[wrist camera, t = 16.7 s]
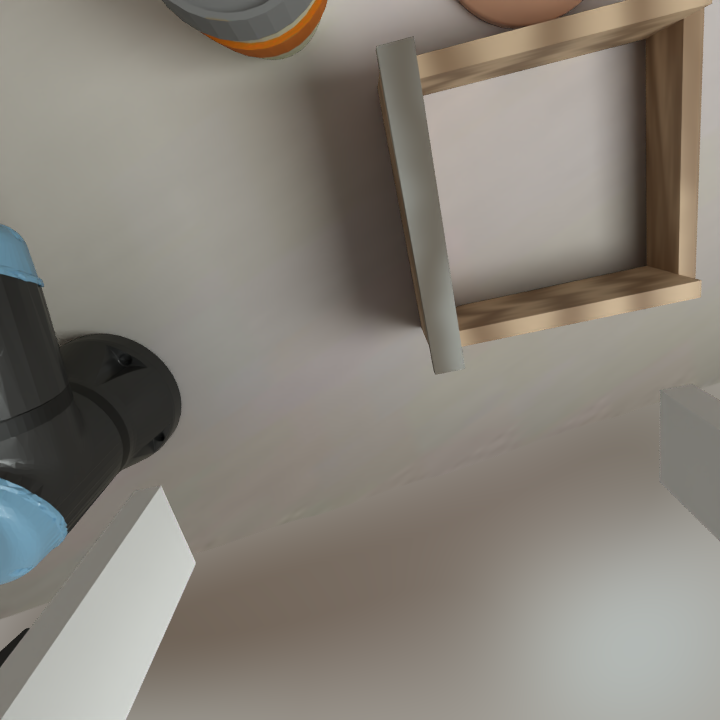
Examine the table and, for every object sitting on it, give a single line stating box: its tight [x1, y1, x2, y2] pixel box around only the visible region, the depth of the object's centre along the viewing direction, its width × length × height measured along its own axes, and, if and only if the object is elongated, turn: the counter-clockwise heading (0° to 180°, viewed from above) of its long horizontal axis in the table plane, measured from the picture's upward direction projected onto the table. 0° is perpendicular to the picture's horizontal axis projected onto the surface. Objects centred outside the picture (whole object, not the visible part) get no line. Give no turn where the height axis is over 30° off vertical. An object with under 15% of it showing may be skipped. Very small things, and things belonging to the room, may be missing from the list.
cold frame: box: [376, 0, 712, 375], centre depth 38 cm, size 26×23×13 cm
